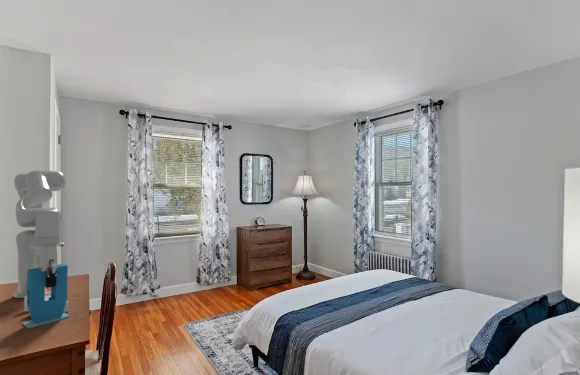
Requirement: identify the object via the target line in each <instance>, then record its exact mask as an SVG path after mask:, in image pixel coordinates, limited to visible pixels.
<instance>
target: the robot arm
mask: <svg viewBox="0 0 580 375" xmlns="http://www.w3.org/2000/svg"><path fill="white" fill-rule="evenodd" d="M13 182H14V187H15V189H16V192H17V194H18V197H19V199H18V200H17V202H16V205H15V218H16V223H17V225H18V226H20V227H21V228H34V229H27V230H23V231H20V232H19V233H18V234H16V237H15V243H16V247H17V291H16V292H15V293H13V295H12V296H13V298H15V299H24V297H26V296H27V270H28V269H34V268H37V269H39V270H40V271H41V272H44V271H46V275H47V277H46V286H45V292H48V290H47V289H49V288H51V287H54V286H56V275H57V274H56V269H57V265H58V246H60V244H61V240H62V212H61V210H59V208H56V207H44V205H43V204H45V203H47V202H49V201H50V200H51V199H52V197H53V192H57V191H58V192H59V191H61V190H62V189H64V188H65V185H66V177H65V175H64V173H63V172H61V171H59V170H58V171H57V170H32V171H29V172H28V173H20V174H19V173H18V174H16V175H15V177H14V180H13ZM49 272H50V273H49Z"/></svg>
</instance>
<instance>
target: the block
mask: <svg viewBox="0 0 580 375" xmlns="http://www.w3.org/2000/svg"><path fill="white" fill-rule="evenodd" d="M49 273H50V272H49ZM56 274H57V275H56V286H54V287H50V291H51V297H49V300H48V301H45V289H46V277H47V275H46V271H44V272H41V271H40V270H39V269H37V268H34V269H28V270H27V307H28V310H29V311H28V312H29V316H30V315H31V316H30V318H31V320H32V321H33V322H34V323H41V322H45V321H49V320H52V319H56V318H59V317H62V314H63V311H64V308H65V304H66V302H67V301H68V264H66V263H61V264H60V263H59V264H57V269H56Z"/></svg>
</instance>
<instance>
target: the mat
mask: <svg viewBox="0 0 580 375" xmlns="http://www.w3.org/2000/svg"><path fill="white" fill-rule="evenodd" d="M69 318H70V315H69V314H67V312H63V314H62V317H59V318H56V319H52V320H49V321H45V322H41V323H34V322H33V321H32V319H31V320H30V319H29V320H26V321H22V325H23V326H24V327H25V328H26V329H32V328H35V327H39V326H42V325H46V324H51V323H55V322H58V321H61V320H65V319H69Z"/></svg>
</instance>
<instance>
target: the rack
mask: <svg viewBox="0 0 580 375" xmlns="http://www.w3.org/2000/svg"><path fill="white" fill-rule="evenodd" d="M50 296H51V290H50V291H47V292H45V298H47V297H50ZM23 299H24V300H23V302H24V303H23V304H24V305H23V312H29V310H28V307H27V296H26V297H24V298H23ZM69 310H70V309H69V301H68V300H67V301H66V304H65V308H64V311H63V312H64V313H67V312H69ZM29 316H30V317H31V315H30V314H29Z"/></svg>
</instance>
